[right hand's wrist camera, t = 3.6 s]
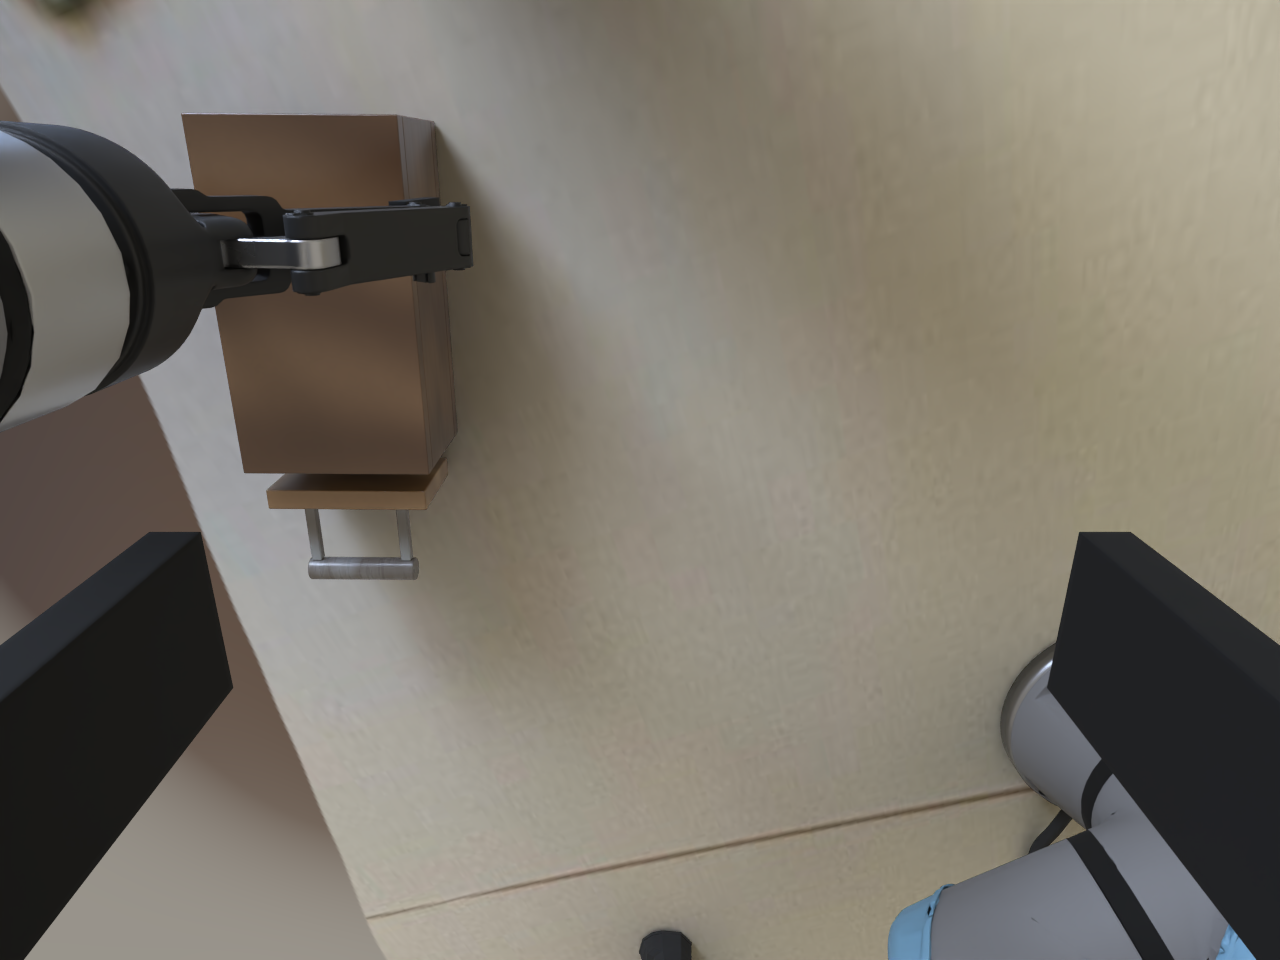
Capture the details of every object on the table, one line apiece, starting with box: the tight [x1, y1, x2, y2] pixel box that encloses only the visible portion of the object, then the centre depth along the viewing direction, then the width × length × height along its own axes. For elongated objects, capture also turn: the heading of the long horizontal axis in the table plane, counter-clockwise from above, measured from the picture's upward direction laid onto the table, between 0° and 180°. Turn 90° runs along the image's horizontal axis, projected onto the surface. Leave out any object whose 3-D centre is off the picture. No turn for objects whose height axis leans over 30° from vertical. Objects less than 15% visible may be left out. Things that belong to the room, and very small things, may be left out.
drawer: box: [266, 458, 448, 580], centre depth 49 cm, size 23×9×6 cm, turn 0°
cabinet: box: [181, 113, 457, 474], centre depth 47 cm, size 19×10×8 cm, turn 0°
